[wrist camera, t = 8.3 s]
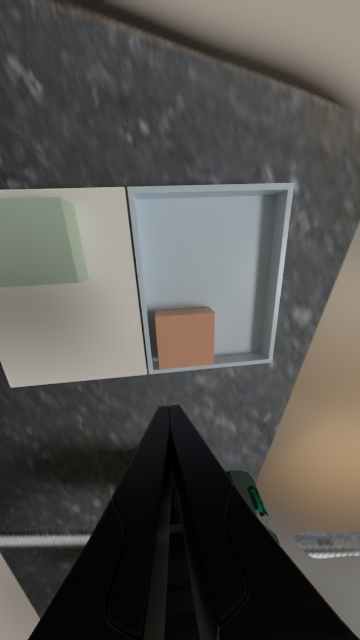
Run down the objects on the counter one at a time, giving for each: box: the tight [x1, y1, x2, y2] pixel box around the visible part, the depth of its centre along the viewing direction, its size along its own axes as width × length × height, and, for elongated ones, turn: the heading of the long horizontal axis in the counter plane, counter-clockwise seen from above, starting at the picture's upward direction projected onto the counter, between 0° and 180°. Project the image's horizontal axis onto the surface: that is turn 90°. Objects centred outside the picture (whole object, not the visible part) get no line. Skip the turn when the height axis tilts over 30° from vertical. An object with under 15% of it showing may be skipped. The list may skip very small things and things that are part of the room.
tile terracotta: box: [155, 307, 215, 369], centre depth 18 cm, size 5×5×2 cm
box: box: [127, 183, 294, 374], centre depth 17 cm, size 15×12×2 cm
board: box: [0, 187, 148, 388], centre depth 16 cm, size 15×12×2 cm
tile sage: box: [0, 197, 89, 287], centre depth 13 cm, size 5×5×2 cm
